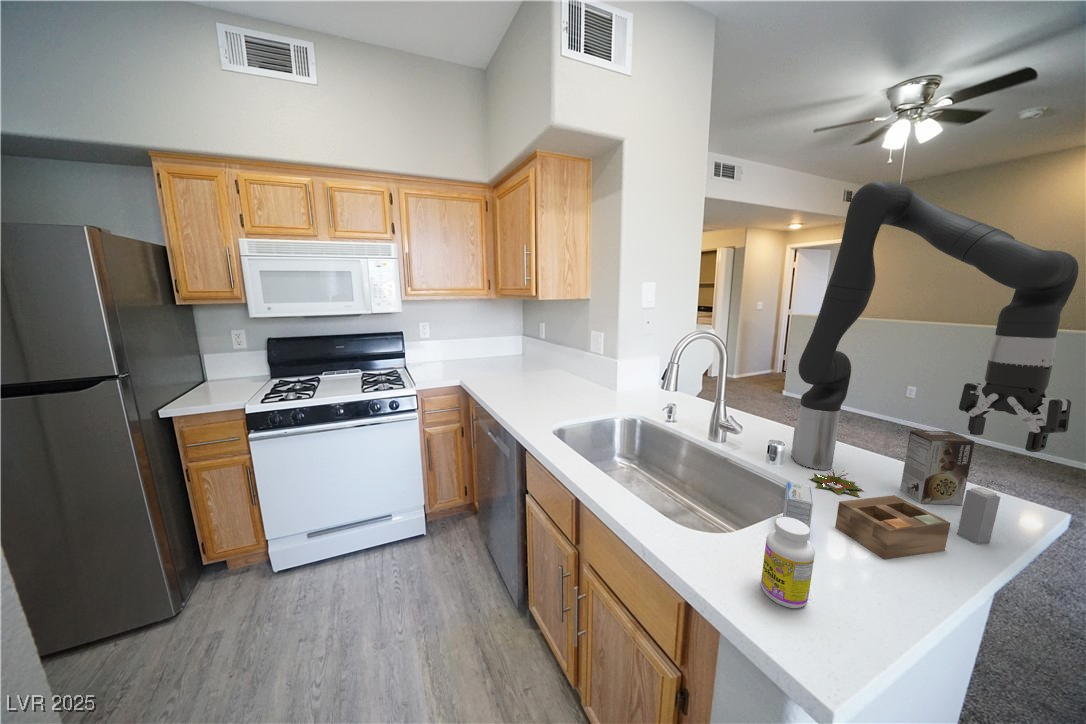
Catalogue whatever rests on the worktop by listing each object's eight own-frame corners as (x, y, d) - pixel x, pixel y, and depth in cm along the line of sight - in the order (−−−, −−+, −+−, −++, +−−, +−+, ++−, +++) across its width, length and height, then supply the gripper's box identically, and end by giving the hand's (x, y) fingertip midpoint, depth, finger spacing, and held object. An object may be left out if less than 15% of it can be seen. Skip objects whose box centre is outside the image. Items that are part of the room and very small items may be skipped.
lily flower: (806, 471, 105) (808, 456, 105) (861, 483, 99) (863, 467, 98) (808, 490, 96) (810, 474, 95) (869, 504, 89) (872, 487, 88)
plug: (956, 534, 77) (967, 487, 76) (969, 532, 78) (980, 485, 76) (976, 544, 74) (988, 495, 72) (989, 542, 75) (1001, 494, 73)
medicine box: (808, 543, 75) (813, 503, 74) (782, 535, 78) (787, 497, 76) (806, 522, 82) (811, 486, 80) (782, 516, 84) (786, 480, 83)
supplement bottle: (752, 580, 66) (759, 513, 63) (787, 577, 66) (796, 511, 64) (778, 612, 59) (788, 539, 57) (818, 609, 60) (828, 536, 57)
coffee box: (937, 491, 94) (949, 430, 91) (963, 505, 88) (977, 440, 85) (898, 489, 95) (909, 429, 92) (920, 504, 88) (933, 439, 85)
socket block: (835, 526, 80) (839, 500, 79) (890, 520, 82) (894, 493, 81) (884, 559, 70) (889, 529, 69) (944, 550, 73) (951, 521, 71)
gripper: (956, 355, 77) (943, 430, 80) (1056, 367, 63) (1036, 458, 66) (989, 354, 77) (975, 429, 80) (1095, 366, 63) (1073, 456, 66)
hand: (1002, 442), depth 73 cm, fingers open, 8 cm apart
